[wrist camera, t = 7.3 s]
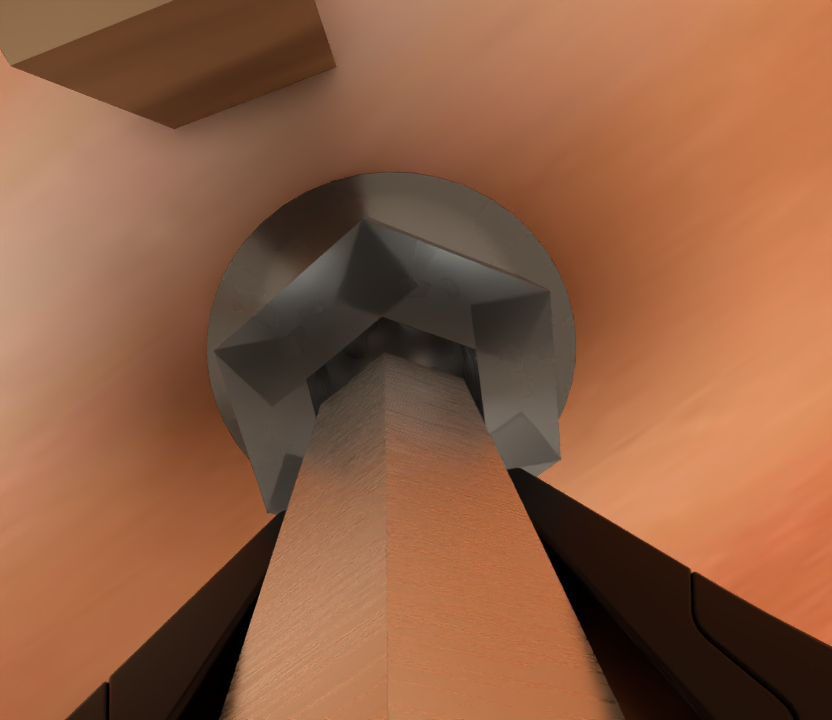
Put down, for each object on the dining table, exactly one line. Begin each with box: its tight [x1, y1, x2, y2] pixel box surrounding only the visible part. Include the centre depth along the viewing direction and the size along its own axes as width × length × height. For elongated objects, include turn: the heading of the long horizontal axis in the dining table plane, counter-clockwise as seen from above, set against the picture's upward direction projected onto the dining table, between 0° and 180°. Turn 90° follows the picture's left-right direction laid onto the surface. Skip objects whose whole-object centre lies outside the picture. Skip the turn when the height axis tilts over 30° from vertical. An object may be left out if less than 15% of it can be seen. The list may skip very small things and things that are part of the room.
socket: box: [207, 172, 576, 515], centre depth 14 cm, size 12×12×4 cm
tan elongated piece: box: [219, 352, 625, 720], centre depth 6 cm, size 4×3×10 cm
